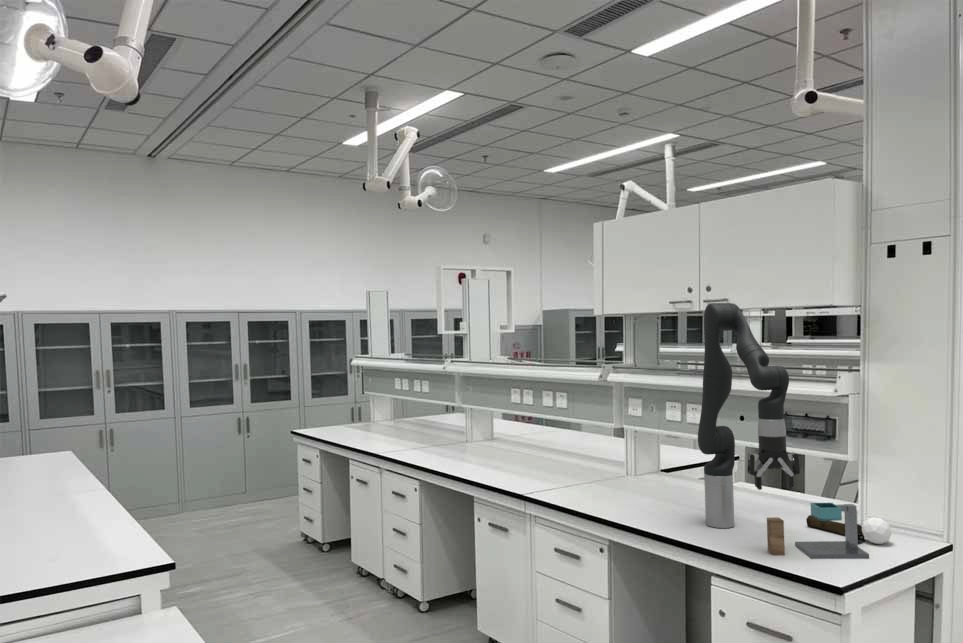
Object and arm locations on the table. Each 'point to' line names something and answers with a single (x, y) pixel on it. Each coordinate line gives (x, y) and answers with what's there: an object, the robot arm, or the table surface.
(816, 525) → the hand tool
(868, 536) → the ball
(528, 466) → the table surface
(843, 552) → the cup bracket
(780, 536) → the brown wooden block
